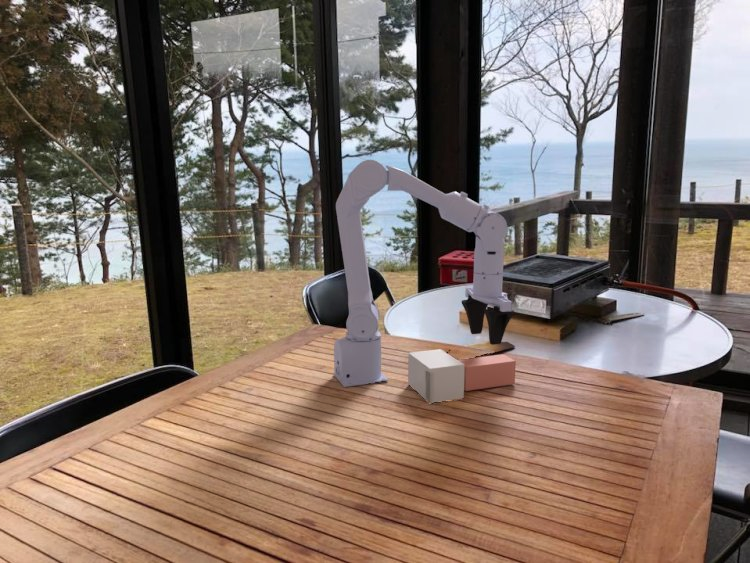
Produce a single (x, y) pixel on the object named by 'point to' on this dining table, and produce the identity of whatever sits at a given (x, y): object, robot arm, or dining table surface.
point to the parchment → (490, 346)
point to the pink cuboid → (488, 372)
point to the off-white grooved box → (436, 375)
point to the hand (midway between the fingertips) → (485, 338)
